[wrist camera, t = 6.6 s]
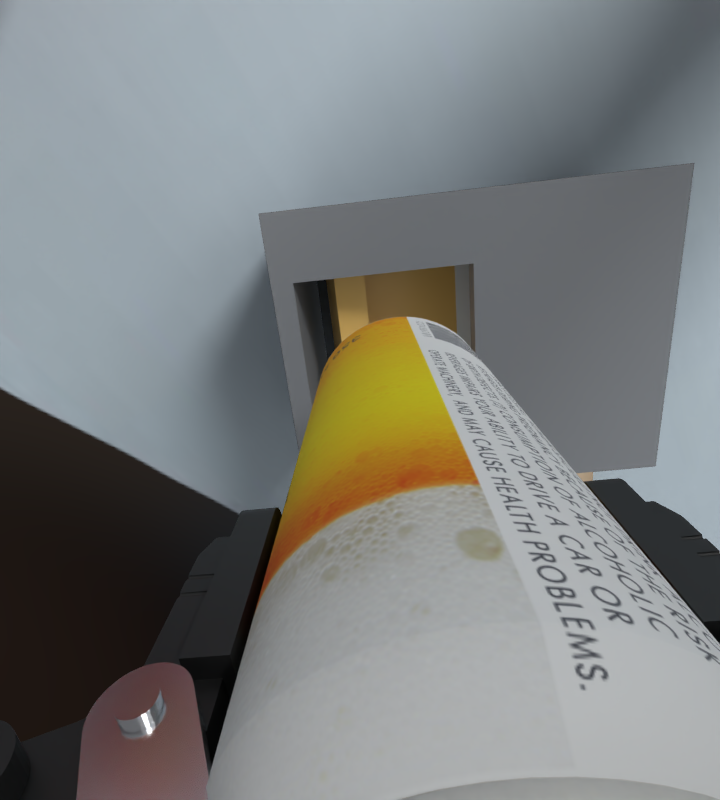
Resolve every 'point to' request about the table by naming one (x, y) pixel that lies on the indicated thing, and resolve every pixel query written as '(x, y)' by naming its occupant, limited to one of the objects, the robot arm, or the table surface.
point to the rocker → (401, 299)
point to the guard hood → (517, 294)
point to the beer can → (458, 609)
